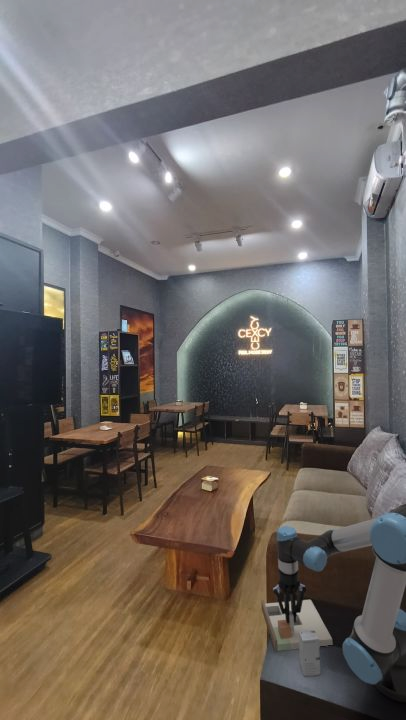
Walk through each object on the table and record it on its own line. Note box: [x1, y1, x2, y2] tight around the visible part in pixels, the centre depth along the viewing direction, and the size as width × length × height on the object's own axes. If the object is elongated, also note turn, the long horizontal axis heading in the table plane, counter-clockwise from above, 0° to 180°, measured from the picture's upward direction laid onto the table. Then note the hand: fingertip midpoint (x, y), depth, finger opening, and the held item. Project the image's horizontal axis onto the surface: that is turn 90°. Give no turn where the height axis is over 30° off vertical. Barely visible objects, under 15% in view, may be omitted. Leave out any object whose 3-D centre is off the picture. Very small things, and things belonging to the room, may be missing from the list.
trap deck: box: [260, 599, 334, 652], centre depth 140 cm, size 22×22×4 cm
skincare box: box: [298, 630, 321, 677], centre depth 120 cm, size 6×4×12 cm
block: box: [278, 620, 291, 639], centre depth 133 cm, size 4×4×4 cm
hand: (291, 630), depth 133 cm, fingers closed
